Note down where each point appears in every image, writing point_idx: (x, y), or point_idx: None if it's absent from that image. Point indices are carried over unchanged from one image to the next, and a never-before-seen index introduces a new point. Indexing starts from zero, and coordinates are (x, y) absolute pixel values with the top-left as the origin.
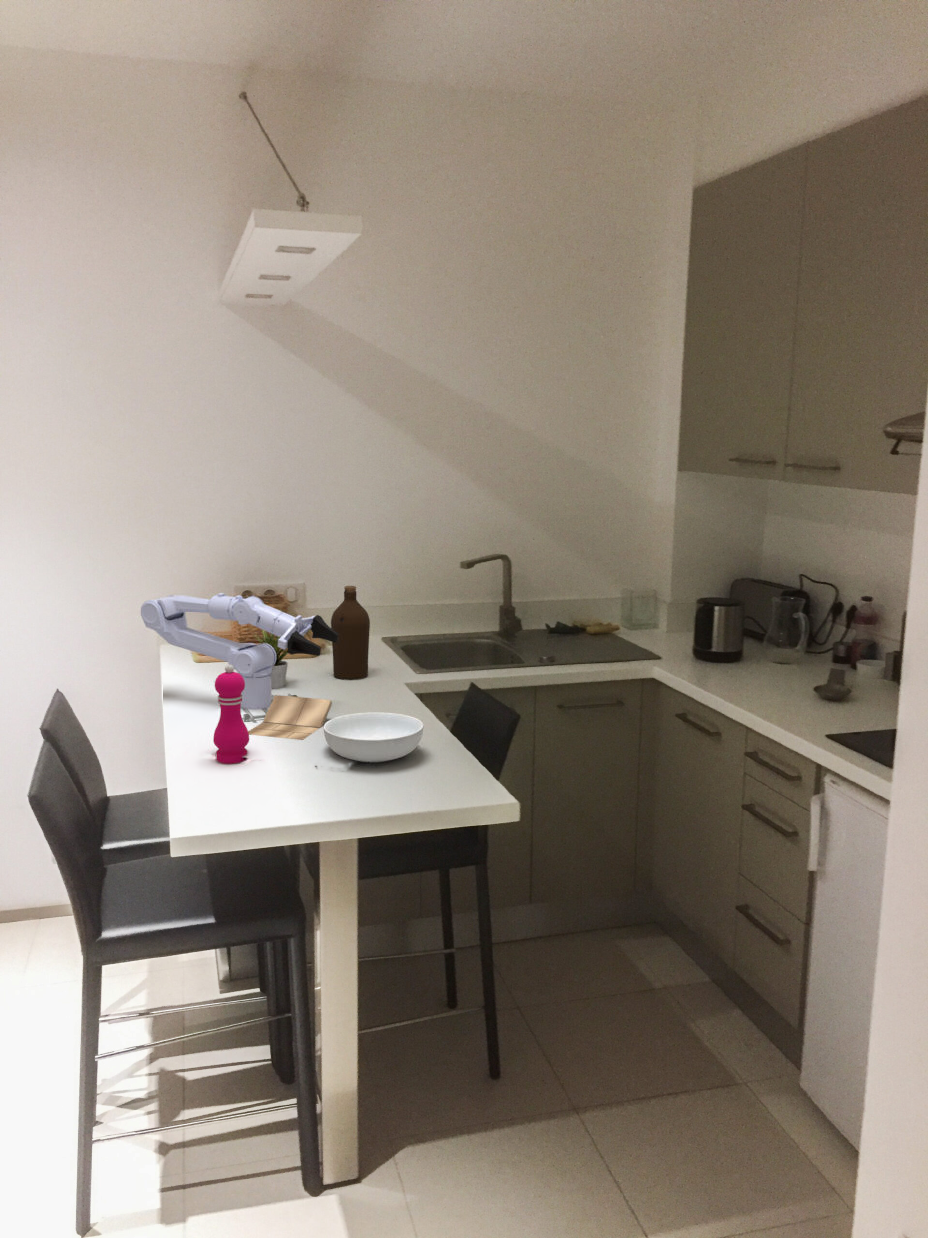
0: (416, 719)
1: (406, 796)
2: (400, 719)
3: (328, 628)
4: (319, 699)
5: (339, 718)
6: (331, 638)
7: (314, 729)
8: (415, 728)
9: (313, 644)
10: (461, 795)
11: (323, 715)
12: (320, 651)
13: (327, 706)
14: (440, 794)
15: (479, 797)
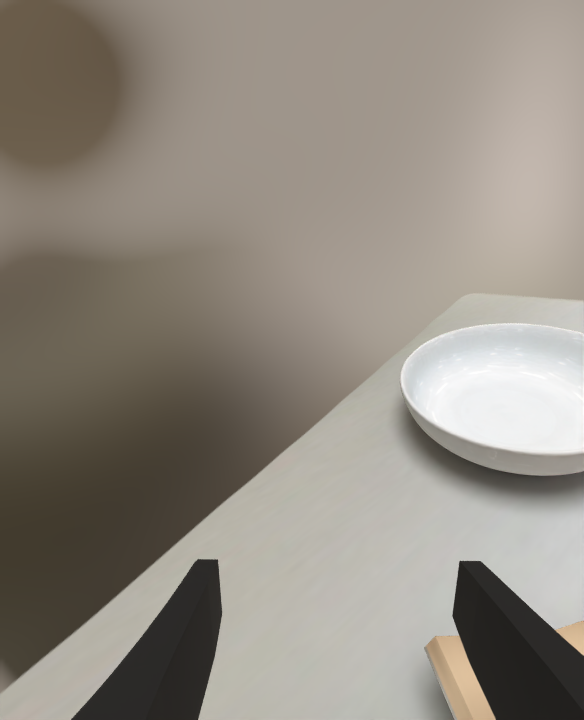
0: (408, 361)
1: (563, 322)
2: (409, 393)
3: (165, 649)
4: (471, 709)
5: (554, 451)
6: (207, 652)
7: (571, 640)
8: (416, 370)
9: (523, 608)
10: (494, 308)
11: None
12: (456, 591)
13: None
14: (515, 315)
15: (481, 302)
